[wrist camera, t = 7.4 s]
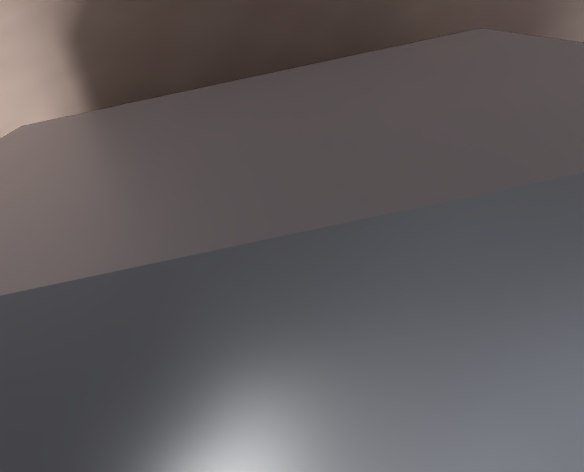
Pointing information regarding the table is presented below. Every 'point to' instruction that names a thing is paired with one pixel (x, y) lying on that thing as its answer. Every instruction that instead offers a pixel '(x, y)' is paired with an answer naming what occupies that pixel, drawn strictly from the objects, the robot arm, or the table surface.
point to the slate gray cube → (305, 270)
